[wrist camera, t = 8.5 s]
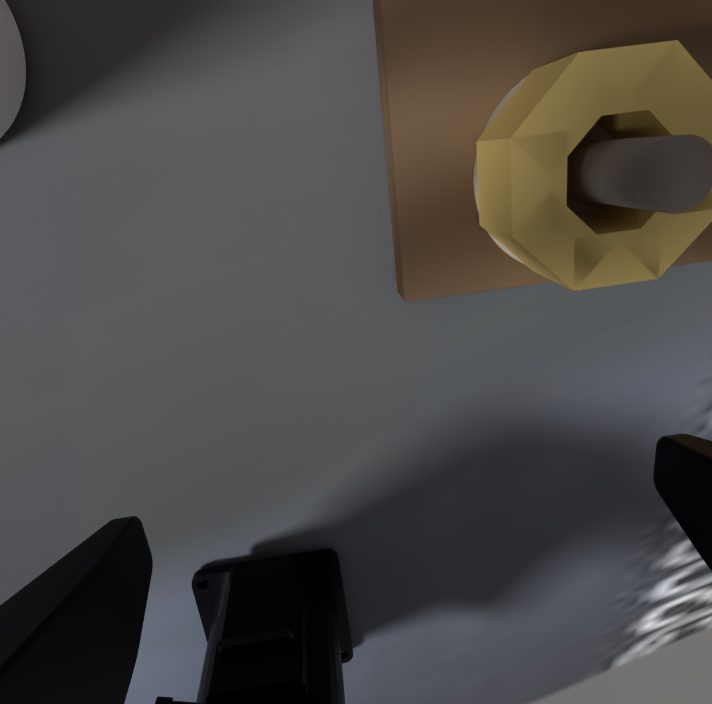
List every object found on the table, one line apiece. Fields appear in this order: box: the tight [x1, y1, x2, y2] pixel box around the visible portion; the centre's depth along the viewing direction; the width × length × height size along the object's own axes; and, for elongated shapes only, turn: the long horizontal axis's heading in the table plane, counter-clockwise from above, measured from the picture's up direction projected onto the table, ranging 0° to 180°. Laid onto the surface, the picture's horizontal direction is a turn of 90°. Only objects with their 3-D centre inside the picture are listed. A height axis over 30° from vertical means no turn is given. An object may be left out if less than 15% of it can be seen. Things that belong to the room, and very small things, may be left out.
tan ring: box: [476, 40, 712, 291], centre depth 16 cm, size 6×6×3 cm
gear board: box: [373, 0, 712, 302], centre depth 15 cm, size 16×12×7 cm
